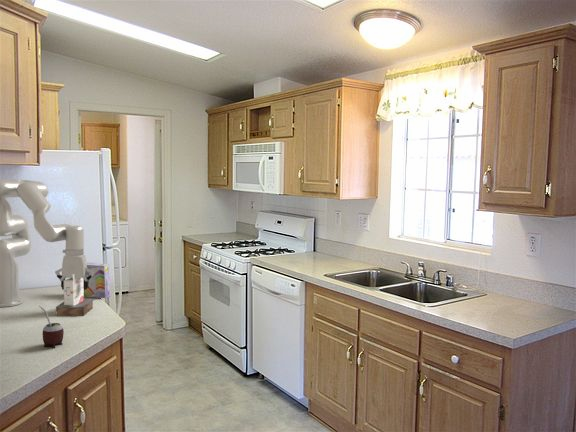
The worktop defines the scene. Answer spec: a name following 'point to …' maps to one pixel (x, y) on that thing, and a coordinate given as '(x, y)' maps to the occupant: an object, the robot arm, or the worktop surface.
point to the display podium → (74, 309)
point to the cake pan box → (98, 281)
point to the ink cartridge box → (73, 291)
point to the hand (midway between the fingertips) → (74, 289)
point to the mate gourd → (52, 333)
